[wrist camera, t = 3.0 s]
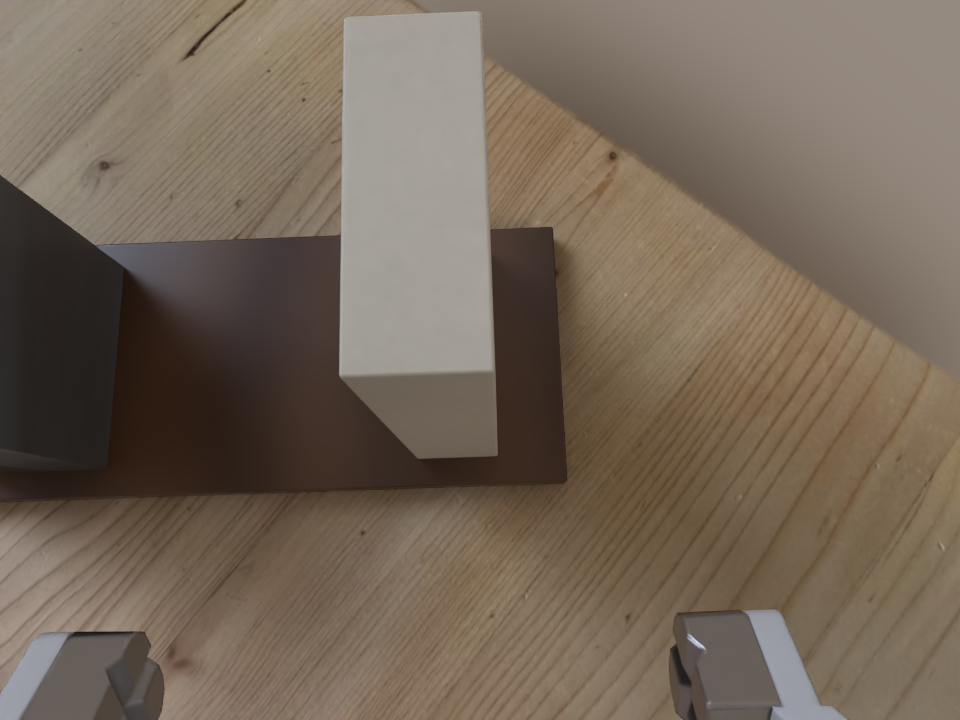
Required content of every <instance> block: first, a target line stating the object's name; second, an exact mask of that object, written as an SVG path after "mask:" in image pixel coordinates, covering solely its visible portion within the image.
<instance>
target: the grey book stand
mask: <svg viewBox="0 0 960 720" xmlns="http://www.w3.org/2000/svg"><path fill="white" fill-rule="evenodd" d="M490 237H491V264H492V291H493V318H494V345H495V373H496V407H497V441H498V455H497V456H487V457H458V458H428V459H418V458H416V457H415V456H414V454H413V453H412V452H411V451H410V450H409V449H408V448H407V447H406V446H405V445H404V444H403V443H402V442H401V441H400V440H399V439H398V438H397V437H396V436H395V435H394V433H393V432H392V431H391V430H390V429H389V428H388V427H387V426H386V425H385V424H384V423H383V422H382V421H381V420H380V419H379V418H378V417H377V416H376V415H375V414H374V413H373V411H372V410H371V409H370V408H369V407H368V406H367V405H366V404H365V403H364V402H363V401H362V400H361V399H360V398H359V397H358V396H357V395H356V394H355V393H354V392H353V391H352V389H351V388H350V387H349V386H348V385H347V384H346V383H345V382H344V381H343V380H342V379H341V378H340V376H339V343H340V266H341V235H338V236H313V237H287V238H262V239H237V240H212V241H186V242H161V243H136V244H111V245H94V244H92V243H91V242H90V241H88V240H87V239H86V238H84V237H83V236H82V235H80V234H79V233H77V232H76V231H75V230H73V229H72V228H71V227H69V226H68V225H67V224H65V223H64V222H63V221H61V220H60V219H59V218H57V217H56V216H55V215H53V214H52V213H50V212H49V211H48V210H46V209H45V208H44V207H42V206H41V205H40V204H38V203H37V202H36V201H34V200H33V199H32V198H30V197H29V196H28V195H26V194H25V193H23V192H22V191H21V190H19V189H18V188H17V187H15V186H14V185H13V184H11V183H10V182H9V181H7V180H6V179H5V178H3V177H2V176H1V175H0V502H28V501H58V500H88V499H118V498H147V497H177V496H207V495H237V494H267V493H297V492H327V491H356V490H386V489H416V488H446V487H476V486H506V485H536V484H564V483H565V482H566V481H567V466H566V449H565V431H564V414H563V397H562V380H561V362H560V345H559V328H558V310H557V293H556V276H555V258H554V241H553V228H552V227H540V228H515V229H490Z"/></svg>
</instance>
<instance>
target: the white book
mask: <svg viewBox="0 0 960 720" xmlns="http://www.w3.org/2000/svg"><path fill="white" fill-rule="evenodd" d="M482 21H483V20H482V14H481V12H479V11H472V12H471V11H470V12H449V13H425V14H403V15H381V16H358V17H346V18H345V19H344V34H343V111H342V188H341V266H340V343H339V376H340V378H341V379H342V380H343V381H344V382H345V383H346V384H347V385H348V386H349V387H350V388H351V389H352V391H353V392H354V393H355V394H356V395H357V396H358V397H359V398H360V399H361V400H362V401H363V402H364V403H365V404H366V405H367V406H368V407H369V408H370V409H371V410H372V411H373V413H374V414H375V415H376V416H377V417H378V418H379V419H380V420H381V421H382V422H383V423H384V424H385V425H386V426H387V427H388V428H389V429H390V430H391V431H392V432H393V433H394V435H395V436H396V437H397V438H398V439H399V440H400V441H401V442H402V443H403V444H404V445H405V446H406V447H407V448H408V449H409V450H410V451H411V452H412V453H413V454H414V456H415V457H416V458H418V459H428V458H458V457H487V456H497V455H498V441H497V407H496V373H495V345H494V318H493V291H492V264H491V237H490V210H489V183H488V156H487V128H486V101H485V74H484V47H483V22H482Z"/></svg>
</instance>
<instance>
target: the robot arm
mask: <svg viewBox="0 0 960 720" xmlns="http://www.w3.org/2000/svg"><path fill="white" fill-rule="evenodd" d="M673 632H674V635H675V639H676V644H675V645H674V646H673V647H672V648H671V649H670V658H669V676H670V686H671V693H672V698H673V702H674V707H675V711H676V713H677V714H678V715H679V716H680V717H681V718H682V719H683V720H849V719H847V718H846V717H845V716H844V715H843V714H841V713H840V712H839V711H838V710H837V709H835V708H834V707H833V706H822V705H821V702H820V700H819V698H818V695H817V693H816V691H815V688H814V686H813V684H812V682H811V679H810V677H809V675H808V672H807V670H806V668H805V665H804V663H803V661H802V659H801V656H800V654H799V652H798V649H797V647H796V645H795V642H794V640H793V638H792V635H791V633H790V631H789V629H788V626H787V624H786V622H785V619H784V617H783V615H782V614H781V613H780V612H779V611H778V610H777V609H774V610H744V611H741V610H727V611H706V612H684V613H677V614H676V616H675V619H674V625H673ZM150 648H151V644H150V642H149V640H148V638H147V636H146V633H145V632H48V633H42V634H41V635H39V636H38V637H37V638H36V639H34V640H33V641H32V643H31V644H30V646H29V648H28V649H27V651H26V653H25V654H24V656H23V658H22V659H21V661H20V662H19V664H18V666H17V667H16V669H15V671H14V672H13V674H12V676H11V677H10V679H9V681H8V682H7V684H6V686H5V687H4V689H3V691H2V692H1V694H0V720H158V719H159V716H160V713H161V711H162V705H163V698H164V691H165V688H164V679H163V674H162V671H161V669H160V666H159V665H158V664H157V663H155V662H154V661H153V660H151V659H150V658H148V657H147V655H148V653H149V650H150Z"/></svg>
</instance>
